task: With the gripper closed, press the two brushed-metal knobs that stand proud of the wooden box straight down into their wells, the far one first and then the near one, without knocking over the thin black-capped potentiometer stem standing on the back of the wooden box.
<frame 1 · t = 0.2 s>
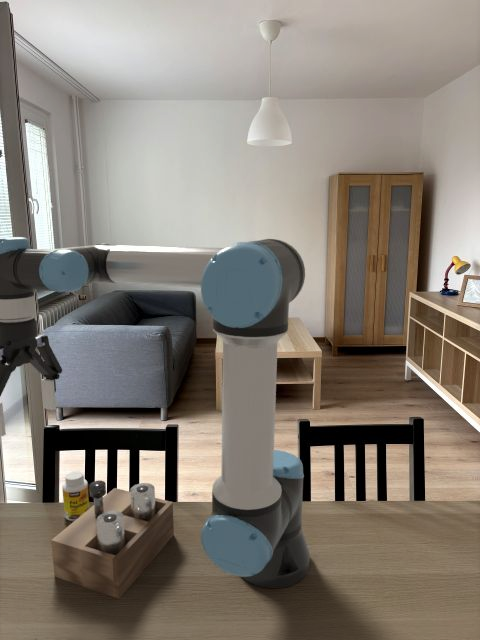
hand: (25, 420, 102), 28 cm above the table, fingers open, 13 cm apart
knob near: (111, 539, 96), point 8 cm above the table, slide at 0.0 cm
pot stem: (99, 515, 104), point 8 cm above the table, touching wooden box
supplement bottle: (77, 515, 118), on the table
wooden box: (117, 554, 104), on the table
knob far: (143, 508, 106), point 8 cm above the table, slide at 0.0 cm
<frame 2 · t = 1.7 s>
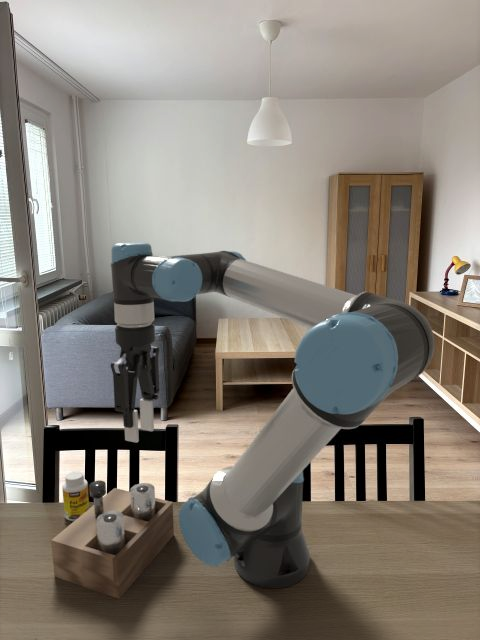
hand: (139, 434, 103), 25 cm above the table, fingers open, 5 cm apart
nothing on the table moved.
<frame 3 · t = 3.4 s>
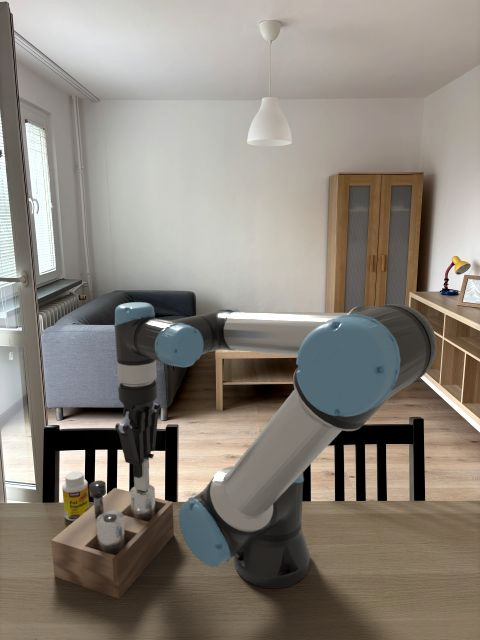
hand: (142, 488, 106), 13 cm above the table, fingers closed
knob far: (143, 509, 106), point 8 cm above the table, slide at 0.2 cm, touching gripper
everything else where it was.
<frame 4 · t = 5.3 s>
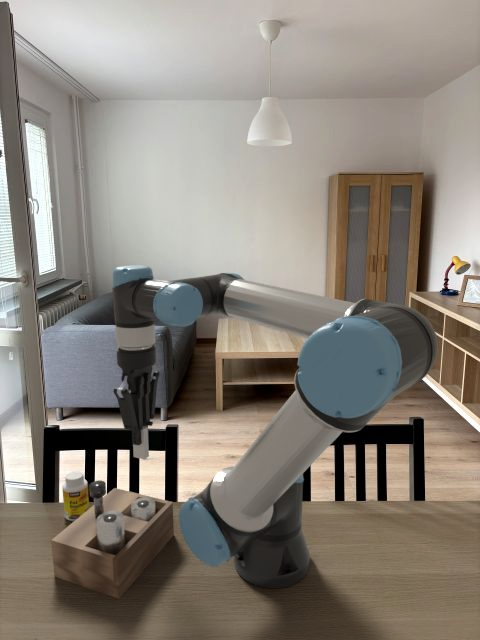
hand: (141, 456, 104), 20 cm above the table, fingers closed
knob far: (143, 522, 107), point 5 cm above the table, slide at 3.4 cm
everything else where it was.
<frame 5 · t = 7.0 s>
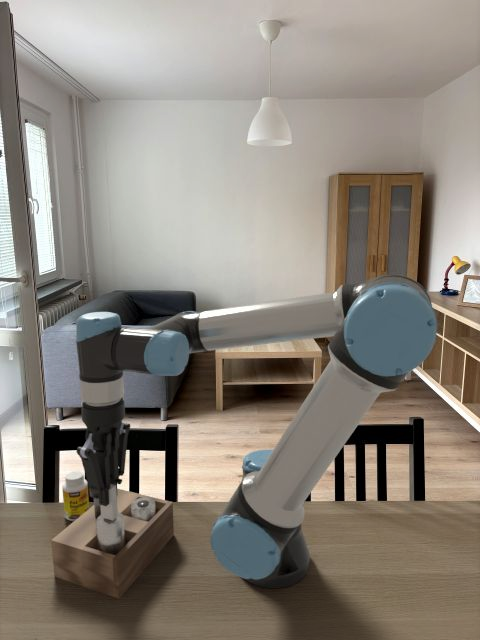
hand: (109, 516, 96), 13 cm above the table, fingers closed
knob near: (111, 539, 97), point 8 cm above the table, slide at 0.1 cm, touching gripper
everything else where it was.
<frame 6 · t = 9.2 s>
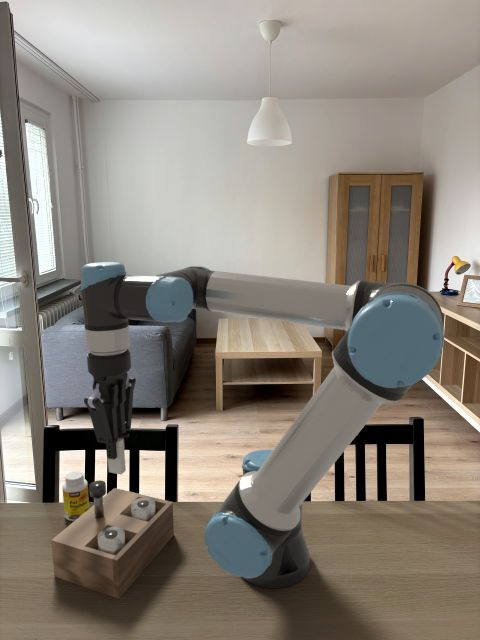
hand: (117, 471, 95), 22 cm above the table, fingers closed
knob near: (112, 555, 97), point 5 cm above the table, slide at 3.4 cm
everything else where it was.
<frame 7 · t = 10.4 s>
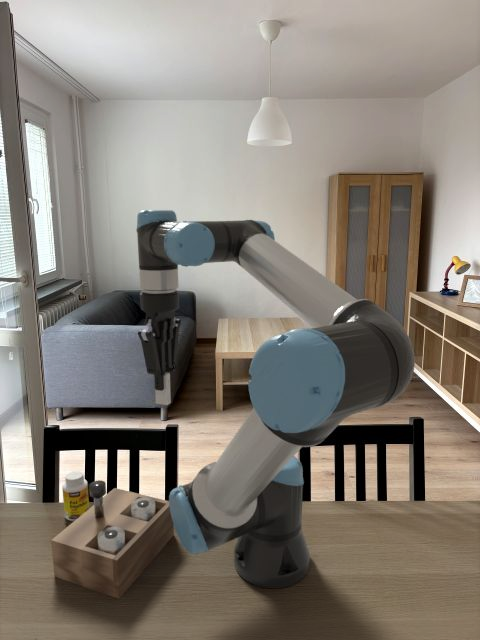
hand: (163, 403, 105), 30 cm above the table, fingers closed
nothing on the table moved.
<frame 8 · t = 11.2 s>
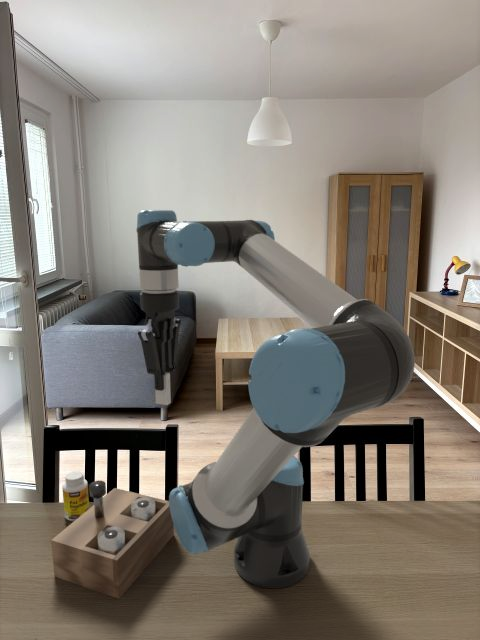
hand: (163, 403, 105), 30 cm above the table, fingers closed
nothing on the table moved.
at the end: knob far slide at 3.4 cm; knob near slide at 3.4 cm; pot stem tilted 0° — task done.
